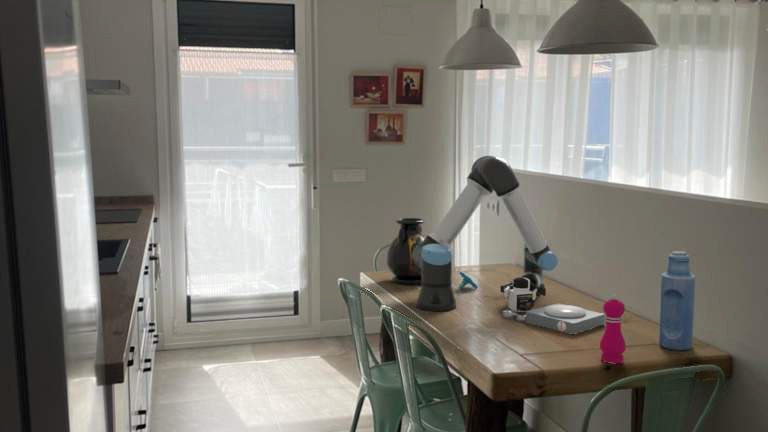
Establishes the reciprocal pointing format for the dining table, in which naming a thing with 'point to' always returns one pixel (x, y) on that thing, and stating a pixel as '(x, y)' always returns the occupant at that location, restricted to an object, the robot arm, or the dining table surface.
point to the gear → (466, 281)
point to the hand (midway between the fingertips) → (519, 295)
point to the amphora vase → (405, 252)
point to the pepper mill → (613, 331)
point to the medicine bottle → (521, 295)
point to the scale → (565, 318)
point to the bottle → (677, 303)
